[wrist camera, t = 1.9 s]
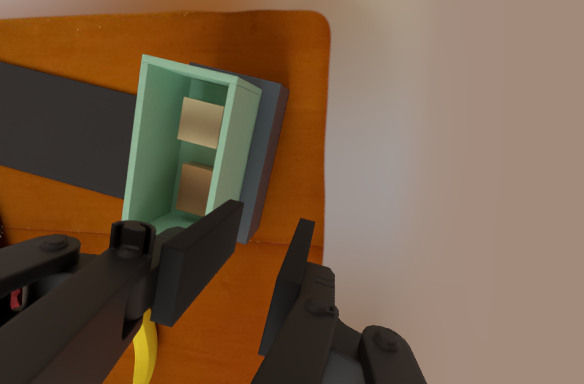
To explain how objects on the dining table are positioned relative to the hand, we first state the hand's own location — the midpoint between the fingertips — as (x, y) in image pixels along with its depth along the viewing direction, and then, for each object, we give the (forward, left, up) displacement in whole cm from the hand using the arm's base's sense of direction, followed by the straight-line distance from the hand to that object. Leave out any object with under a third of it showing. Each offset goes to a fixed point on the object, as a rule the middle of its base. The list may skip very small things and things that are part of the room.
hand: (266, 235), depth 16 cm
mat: (+3, -32, -25) cm, 41 cm away
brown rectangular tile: (+4, -10, -18) cm, 21 cm away
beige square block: (-3, -10, -18) cm, 21 cm away
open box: (0, -10, -19) cm, 21 cm away
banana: (+27, -18, -25) cm, 41 cm away
